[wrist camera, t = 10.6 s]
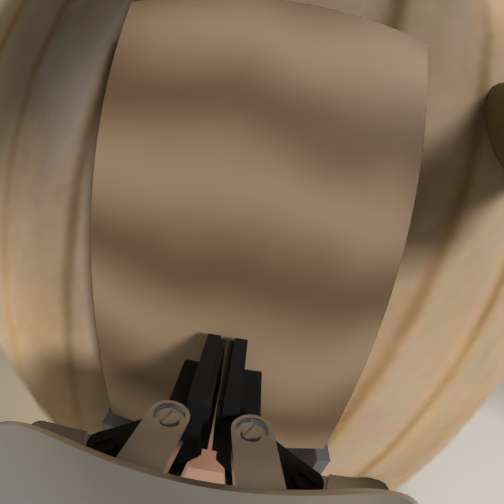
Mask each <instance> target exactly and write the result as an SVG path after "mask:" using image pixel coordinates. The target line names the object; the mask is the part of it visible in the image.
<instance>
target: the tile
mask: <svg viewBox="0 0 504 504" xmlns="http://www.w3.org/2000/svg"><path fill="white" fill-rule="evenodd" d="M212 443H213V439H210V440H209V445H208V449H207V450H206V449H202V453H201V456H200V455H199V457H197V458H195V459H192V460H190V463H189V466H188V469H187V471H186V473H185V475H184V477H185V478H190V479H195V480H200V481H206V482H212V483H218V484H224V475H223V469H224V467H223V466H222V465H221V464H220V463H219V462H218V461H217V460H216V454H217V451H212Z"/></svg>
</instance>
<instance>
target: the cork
mask: <svg viewBox="0 0 504 504" xmlns="http://www.w3.org/2000/svg"><path fill="white" fill-rule="evenodd" d="M486 119H487V127H488V131H489V136H490V141H491V143H492V146H493V148H494V151H495V154H496V156H497V158H498V159H499V161H500V163H501V165H502V166H503V168H504V83H499V84H497V85H495V86H493V87H492V89H491V91H490V92H489V94H488V98H487V104H486Z"/></svg>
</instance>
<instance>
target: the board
mask: <svg viewBox="0 0 504 504" xmlns="http://www.w3.org/2000/svg"><path fill="white" fill-rule="evenodd" d="M427 80H428V61H427V42H424V41H422V40H420V39H418V38H416V37H413V36H411V35H409V34H406V33H404V32H401V31H399V30H396V29H393V28H391V27H388V26H385V25H383V24H380V23H377V22H374V21H371V20H368V19H365V18H361V17H358V16H355V15H351V14H347V13H344V12H340V11H336V10H332V9H328V8H323V7H319V6H314V5H309V4H303V3H298V2H291V1H285V0H141V1H135V2H131V5H130V8H129V10H128V13H127V16H126V19H125V22H124V25H123V28H122V31H121V34H120V37H119V41H118V44H117V47H116V51H115V54H114V58H113V62H112V66H111V70H110V74H109V78H108V82H107V87H106V92H105V96H104V101H103V107H102V112H101V118H100V124H99V130H98V137H97V145H96V153H95V162H94V173H93V185H92V202H91V272H92V289H93V302H94V313H95V322H96V330H97V338H98V345H99V351H100V357H101V363H102V369H103V374H104V379H105V384H106V389H107V393H108V398H109V402H110V406H111V410H112V414H115V415H118V416H120V417H124V418H127V419H130V420H133V421H137V420H140V419H143V418H144V416H145V415H146V413H147V412H148V410H149V409H150V408H151V407H152V406H153V405H154V404H155V403H157V402H159V401H164V400H169V399H170V397H171V394H172V391H173V389H174V386H175V384H176V381H177V379H178V376H179V374H180V371H181V368H182V366H183V363H184V361H185V360H186V359H188V360H193V361H198V362H199V361H200V358H201V355H202V351H203V348H204V345H205V342H206V339H207V336H208V334H209V333H210V334H215V335H221V339H225V340H226V342H225V350H224V358H223V366H222V374H221V381H222V376H223V371H224V366H225V361H226V356H227V351H228V346H229V341H230V340H231V341H235V338H240V339H247V340H248V343H247V353H246V362H245V369H246V370H253V371H261V372H262V383H261V417H263V418H265V419H266V420H268V421H269V423H270V424H271V425H272V427H273V430H274V435H275V439H276V441H277V442H278V443H280V444H281V445H282V446H284V447H285V448H310V449H323V448H324V446H325V445H326V443H327V441H328V439H329V438H330V436H331V434H332V432H333V430H334V428H335V427H336V425H337V423H338V421H339V419H340V417H341V415H342V413H343V411H344V409H345V407H346V405H347V403H348V401H349V399H350V397H351V395H352V393H353V391H354V388H355V386H356V384H357V382H358V380H359V377H360V375H361V373H362V371H363V368H364V366H365V364H366V361H367V359H368V356H369V354H370V351H371V349H372V346H373V344H374V341H375V339H376V336H377V333H378V331H379V328H380V325H381V323H382V320H383V317H384V314H385V311H386V308H387V305H388V302H389V299H390V296H391V293H392V290H393V287H394V283H395V280H396V277H397V273H398V270H399V266H400V263H401V259H402V255H403V251H404V247H405V243H406V239H407V235H408V231H409V226H410V222H411V217H412V213H413V208H414V202H415V197H416V192H417V186H418V180H419V173H420V167H421V159H422V152H423V143H424V133H425V122H426V107H427ZM220 386H221V382H220ZM219 391H220V389H219ZM218 396H219V395H218ZM217 401H218V400H217ZM216 408H217V405H216ZM215 416H216V410H215V415H214V420H213V425H212V430H211V435H210V439H213V434H214V425H215Z"/></svg>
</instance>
